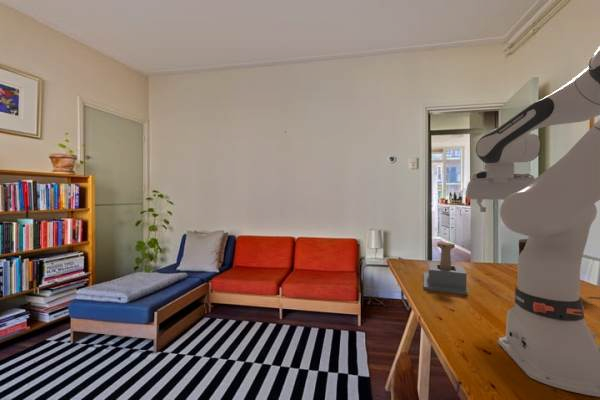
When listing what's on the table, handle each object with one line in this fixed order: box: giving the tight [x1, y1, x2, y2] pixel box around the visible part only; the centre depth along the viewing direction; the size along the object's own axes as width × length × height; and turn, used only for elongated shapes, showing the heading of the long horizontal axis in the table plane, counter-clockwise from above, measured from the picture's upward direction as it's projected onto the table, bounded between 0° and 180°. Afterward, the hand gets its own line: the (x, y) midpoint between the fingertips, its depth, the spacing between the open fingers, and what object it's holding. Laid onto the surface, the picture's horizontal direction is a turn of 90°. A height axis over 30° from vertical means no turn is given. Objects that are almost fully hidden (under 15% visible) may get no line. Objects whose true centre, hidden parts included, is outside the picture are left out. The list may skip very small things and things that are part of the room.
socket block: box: [423, 262, 469, 296], centre depth 118 cm, size 22×15×7 cm
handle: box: [436, 241, 456, 270], centre depth 116 cm, size 5×6×15 cm
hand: (498, 212), depth 102 cm, fingers open, 8 cm apart
